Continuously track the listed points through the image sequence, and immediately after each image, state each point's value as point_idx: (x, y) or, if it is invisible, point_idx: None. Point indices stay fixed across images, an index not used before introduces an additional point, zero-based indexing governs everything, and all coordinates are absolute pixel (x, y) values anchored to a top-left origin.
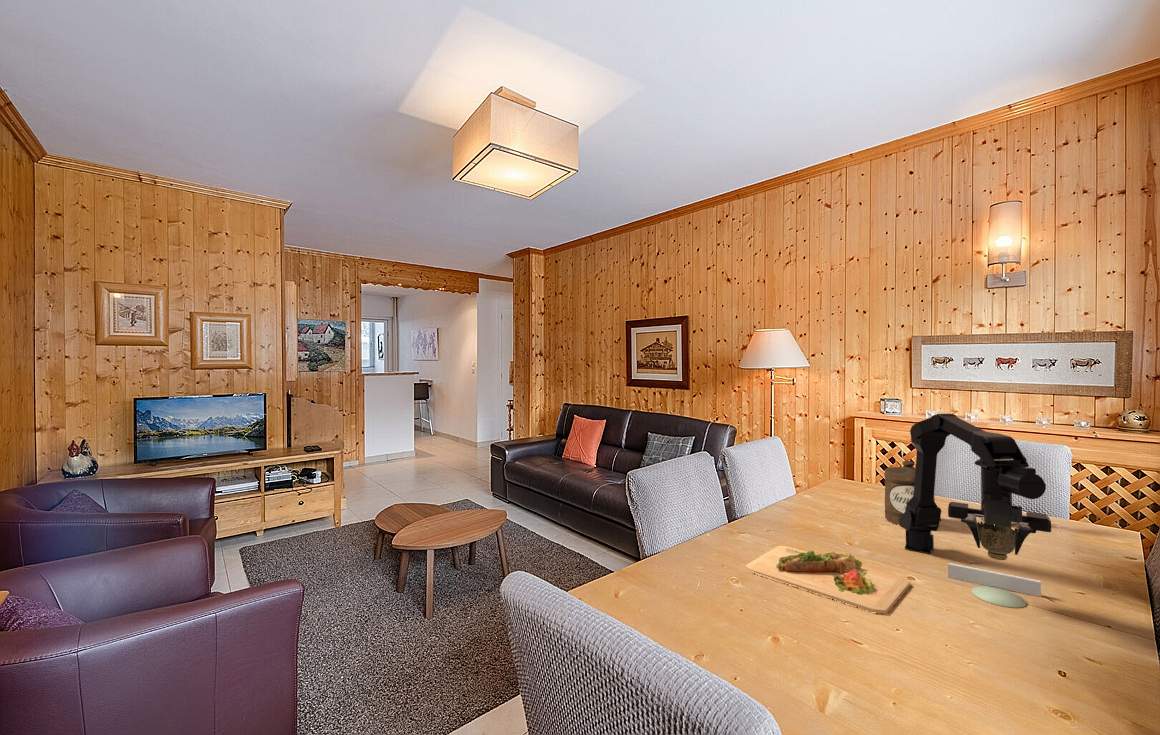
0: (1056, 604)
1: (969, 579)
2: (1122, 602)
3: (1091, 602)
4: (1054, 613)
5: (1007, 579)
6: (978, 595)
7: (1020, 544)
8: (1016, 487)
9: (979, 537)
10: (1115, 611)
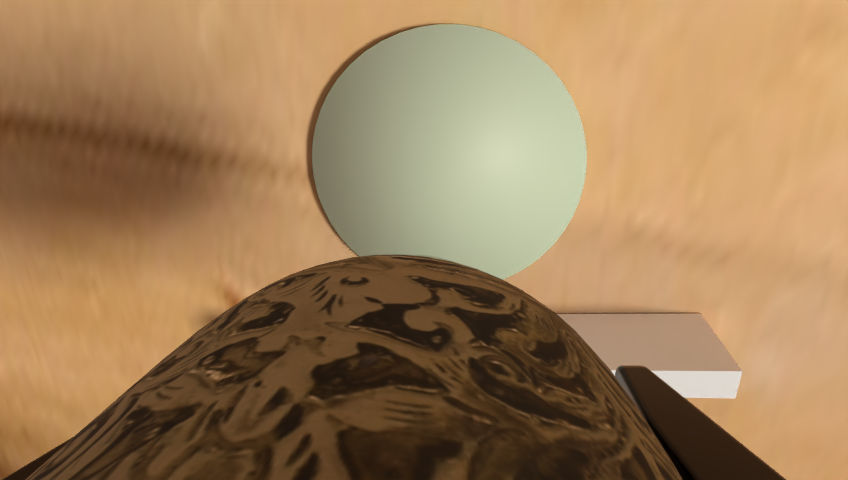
0: (206, 262)
1: (589, 322)
2: (46, 433)
3: (114, 372)
4: (188, 127)
5: None
6: (551, 101)
7: (23, 476)
8: None
9: None
10: (30, 330)
